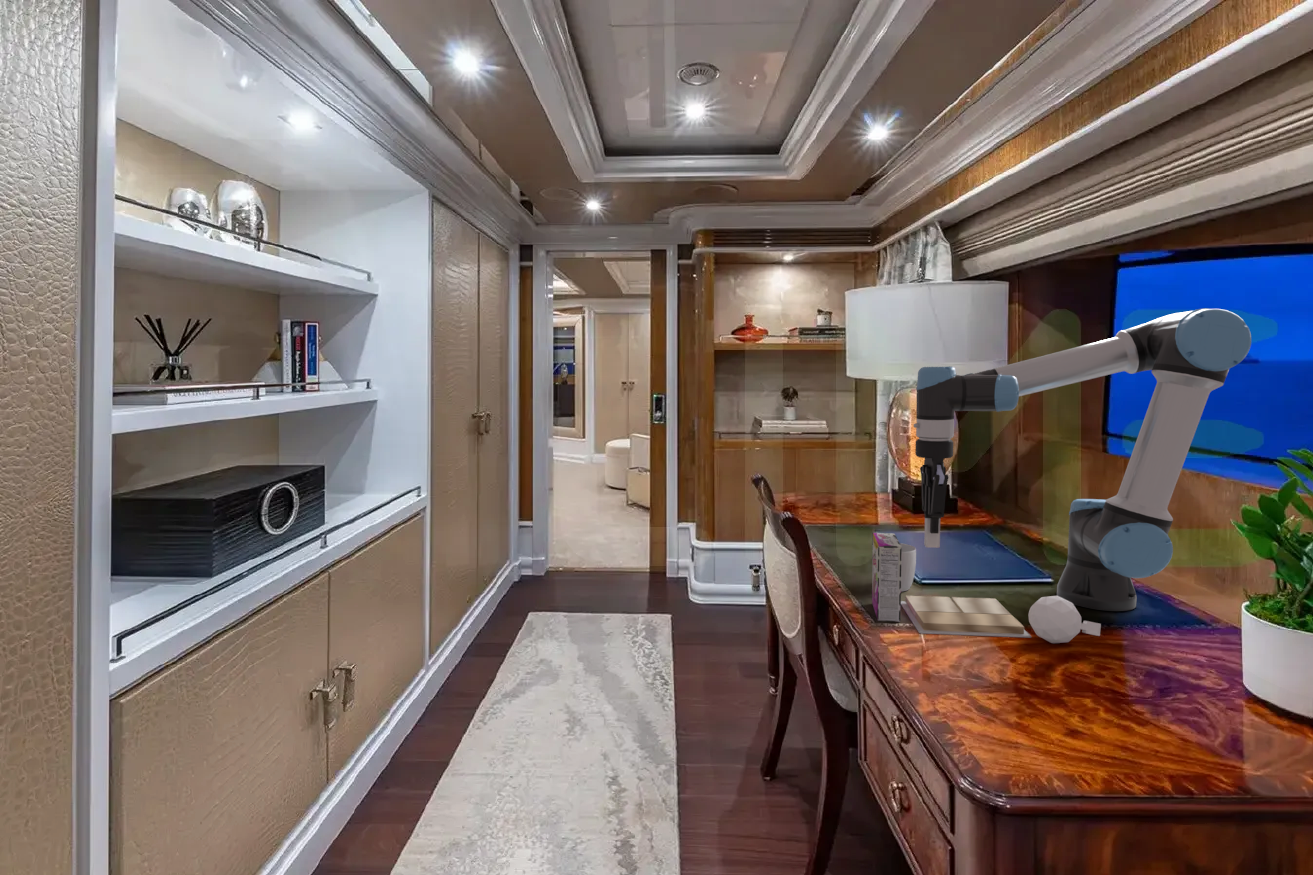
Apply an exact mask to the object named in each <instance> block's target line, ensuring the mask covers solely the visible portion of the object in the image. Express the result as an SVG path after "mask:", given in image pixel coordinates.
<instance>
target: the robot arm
mask: <svg viewBox="0 0 1313 875" xmlns="http://www.w3.org/2000/svg"><path fill="white" fill-rule="evenodd" d="M1251 347H1252V334H1251V331H1250V328H1249V325H1247V324H1246V322H1245V321H1244V319H1243V318H1242V317H1240V316H1239V315H1238V314H1236V313H1234V312H1232V311H1229V310H1227V309H1221V308H1208V307H1207V308H1206V307H1205V308H1198V309H1195V310H1189V311H1183V312H1175V313H1171V314H1167V315H1164V316H1161V317H1157V318H1156V319H1153V320H1150V321H1148V322H1146V323H1141V324H1139V325H1136V326H1133V327H1129V328H1127V329H1123V330H1122V329H1121V330H1119V331H1118V332H1117V333H1116V334H1115V336H1114V337H1111V338H1107V339H1103V340H1102V339H1101V340H1099V341H1096V342H1091V343H1087V344H1083V345H1080V346H1076V347H1072V348H1071V347H1070V348H1068V349H1063V350H1060V351H1056V352H1053V353H1049V354H1045V355H1042V356H1037V357H1034V358H1028V359H1026V360H1021V361H1018V362H1014V363H1010V364H1006V365H1001V366H998V367H995V368H993V369H987V370H983V371H978V372H975V373H973V372H972V373H971V372H970V373H966V374H962V375H959V374H957V373H956V368H955V366H922V367H921V368H919V370H918V372H917V380H916V381H917V383H916V422H915V423H913V428H915V436H916V437H917V439H916V440H915V456H916V457H918V458H920V459H924V461H923V464H922V465H921V466H920V467H919V472H920V478H921V480H920V481H921V509H922V512H923V514H924V538H923V539H924V540H923V542H924V543H923V544H924V546H925V548H936V549H939V548H940V547H941V546H940V545H941V544H940V543H941V518H944V517H945V506H946V505H945V504H946V497H947V496H946V495H947V485H948V481H949V475H948V474H947V470H946V469H947V468H946V466H945V462H944V460H946V459H950V458H953V456H954V441H953V440H952V438H953V437H955V411H956V412H963V411H964V412H966V411H967V412H968V411H969V412H971V411H972V412H996V413H1000V412H1003V411H1004V412H1005V411H1007V412H1009V411H1013V410H1015V408H1016V407H1017V406H1018V403H1019V397H1022V396H1026V395H1030V394H1031V395H1032V394H1034V393H1039V392H1044V391H1046V390H1051V389H1056V388H1059V387H1063V386H1068V385H1071V384H1072V385H1073V384H1077V383H1080V382H1085V381H1089V380H1092V379H1097V378H1100V377H1101V378H1102V377H1105V376H1108V375H1113V374H1117V373H1121V372H1122V373H1123V372H1126V373H1127V374H1130V375H1131V374H1132V375H1133V374H1137V373H1141V372H1146V371H1151V374H1152V375H1153V376H1154V378H1155V380H1156V384H1155V386H1154V391H1153V392H1152V396H1151V399H1150V401H1149V404H1148V408H1147V410H1146V413H1145V415H1144V419H1143V422H1142V425H1141V427H1140V430H1139V432H1138V436H1137V438H1136V441H1135V444H1134V447H1133V449H1132V452H1131V456H1130V458H1129V461H1128V463H1127V467H1126V469H1125V472H1124V475H1123V478H1122V480H1121V484H1120V486H1119V489H1118V492H1117V493H1116V495H1114V496H1112V497H1109V498H1107V499H1100V498H1099V499H1096V498H1076V499H1073V501H1072V502H1071V504H1070V508H1069V509H1070V510H1069V511H1068V516H1069V518H1068V519H1069V522H1068V524H1069V525H1068V540H1067V541H1068V543H1067V561H1066V565H1065V567H1064V569H1063V572H1062V573H1061V576H1060V578H1059V580H1058V583H1057V584H1056V585H1057V586H1056V596H1059V597H1061V598H1063V599H1065V600H1068V601H1070V602H1072V603H1073V604H1074V606H1079V607H1082V608H1087V609H1092V610H1098V611H1106V612H1126V611H1132V610H1133V609H1135V608H1137V599H1138V598H1137V593H1136V590H1135V587H1134V584H1133V580H1132V579H1145V578H1149V577H1152V576H1154V575H1157V574H1159V573H1160V572H1162V571H1163V570H1164V569H1165V568H1167V566H1168V565H1169V563H1170V562H1171V560H1172V558H1173V554H1174V546H1173V541H1171V538H1170V537H1169V532H1170V529H1171V526H1172V524H1173V521H1174V518H1173V516H1172V514H1171V513H1170V511H1169V510H1168V507H1169V504H1170V502H1171V499H1172V496H1173V493H1174V491H1175V488H1176V486H1177V485H1176V484H1177V483H1178V480H1179V478H1180V474H1181V472H1182V469H1183V467H1184V463H1185V461H1186V458H1187V456H1188V453H1189V450H1190V447H1191V444H1192V443H1193V440H1194V437H1195V434H1196V431H1197V428H1198V425H1199V423H1200V421H1201V417H1202V416H1203V414H1204V413H1203V412H1204V409H1205V406H1206V405H1207V401H1208V399H1209V396H1210V393H1211V392H1212V391H1214V390H1216V389H1218V388H1221V387H1223V386H1224V385H1225V381H1226V378H1227V377H1228V373H1229V371H1230V369H1231V368H1234V367H1235V366H1237V365H1238V364H1240V363H1241V362H1242V361H1243V360H1244V359H1245V358H1246V357H1247V355H1248V353H1249V351H1250V349H1251Z"/></svg>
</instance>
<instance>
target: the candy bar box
mask: <svg viewBox="0 0 1313 875" xmlns="http://www.w3.org/2000/svg"><path fill="white" fill-rule="evenodd" d="M901 554H902V547H901V545H900V542H899V539H898V536H897V535H896V534H895V533H892V532H890V533H889V532H888V533H886V532H873V533H872V570H871V571H872V572H871V573H872V574H871V575H872V580H871V581H872V583H871V584H872V585H871V586H872V587H871V588H872V589H871V593H872V594H871V604H872V606H873V610H874V613H875V616H876V619H877V621H878V622H887V623H888V622H889V623H900V622H901V611H902V610H901V608H902V606H901V601H902V592H901Z"/></svg>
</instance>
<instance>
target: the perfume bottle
mask: <svg viewBox="0 0 1313 875" xmlns="http://www.w3.org/2000/svg"><path fill="white" fill-rule="evenodd" d="M1028 622H1029V624H1030V626H1031V628H1032V629H1033V631H1034V633H1035V635H1036V636H1037V637H1039V638H1040V639H1041V638H1042V639H1043V640H1045V641H1047V642H1049V643H1051V644H1060V643H1069V642H1071V640H1073V638H1075V637H1076V636H1077V635H1078V634H1080V633H1083V634H1088V635H1092V636H1097V637H1100V636H1101V628H1102V627H1101V626H1102V623H1098V622H1094V621H1089V620H1083V622H1082V616H1081V614H1080V612H1079V611H1078V609H1077V608H1076V605H1074V604H1073V603H1072V602H1070V601H1068V600H1065V599H1063V598H1061V597H1059V596H1057V595H1051V596H1050V595H1049V596H1042V597H1040V598H1038V600H1036V601H1035V602H1034V603H1033V604H1032V605H1031V606H1030V608H1029V611H1028ZM1081 630H1082V631H1081Z"/></svg>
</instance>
